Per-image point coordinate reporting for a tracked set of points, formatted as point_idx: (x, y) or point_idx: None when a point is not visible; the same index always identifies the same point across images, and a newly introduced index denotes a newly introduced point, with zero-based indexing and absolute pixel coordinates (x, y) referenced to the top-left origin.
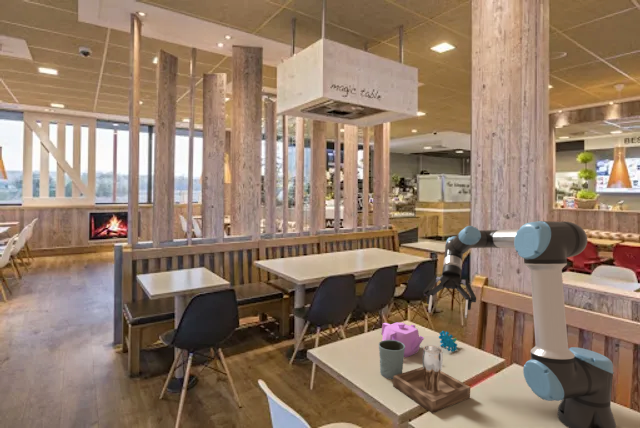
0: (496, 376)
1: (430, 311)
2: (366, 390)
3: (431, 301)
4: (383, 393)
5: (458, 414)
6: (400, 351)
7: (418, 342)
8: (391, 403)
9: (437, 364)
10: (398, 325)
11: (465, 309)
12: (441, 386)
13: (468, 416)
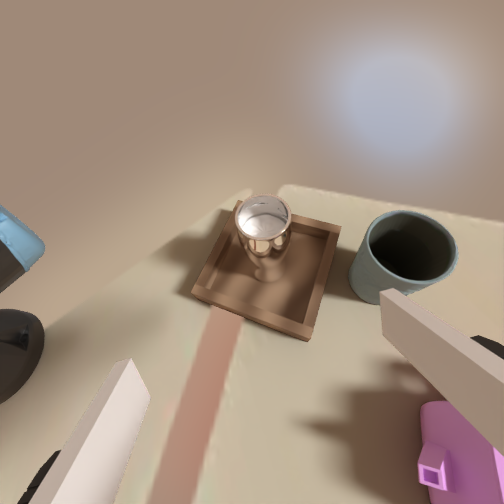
0: (151, 475)
1: (383, 322)
2: (361, 198)
3: (451, 361)
4: (333, 209)
5: (205, 236)
6: (365, 235)
7: (424, 455)
8: (304, 195)
9: (244, 220)
10: None
11: (107, 396)
12: (255, 291)
13: (190, 241)
